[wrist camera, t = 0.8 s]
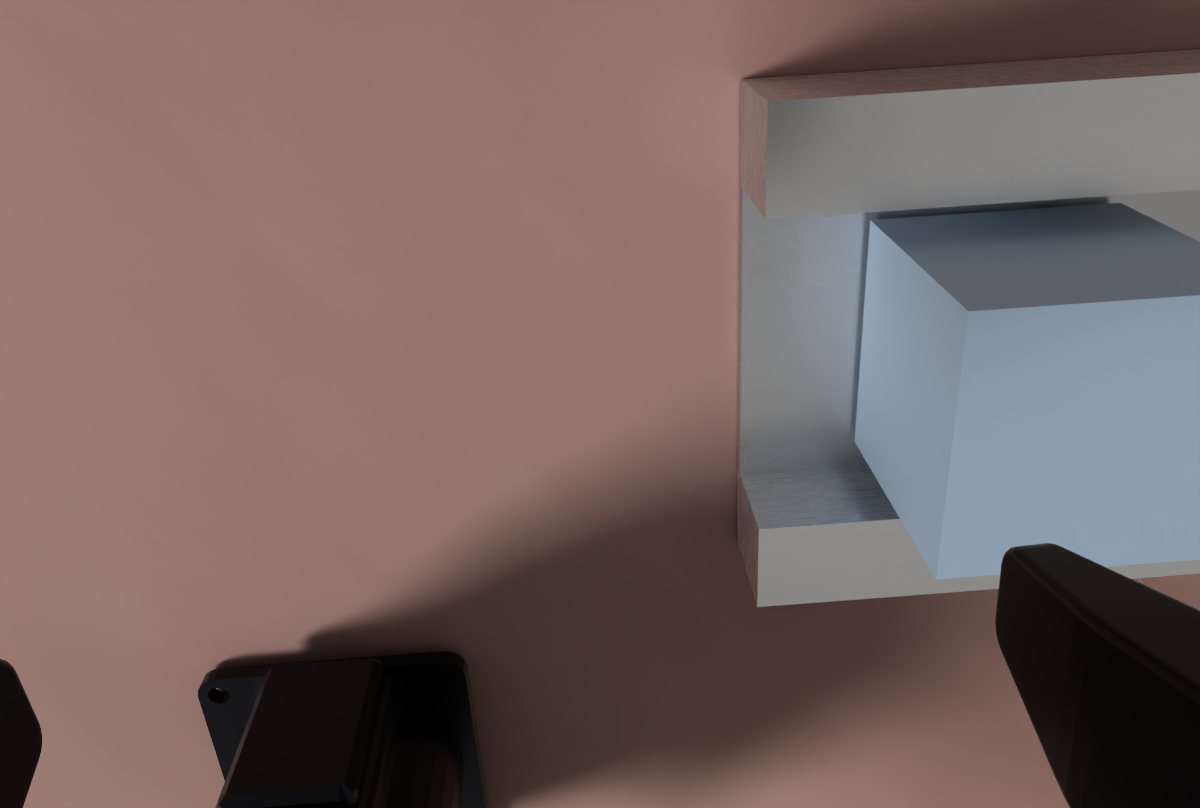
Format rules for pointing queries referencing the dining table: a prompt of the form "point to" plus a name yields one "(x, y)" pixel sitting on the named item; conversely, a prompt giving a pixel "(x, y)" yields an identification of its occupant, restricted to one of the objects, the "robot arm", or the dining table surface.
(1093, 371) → the block
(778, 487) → the chute
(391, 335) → the dining table surface
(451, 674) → the robot arm
